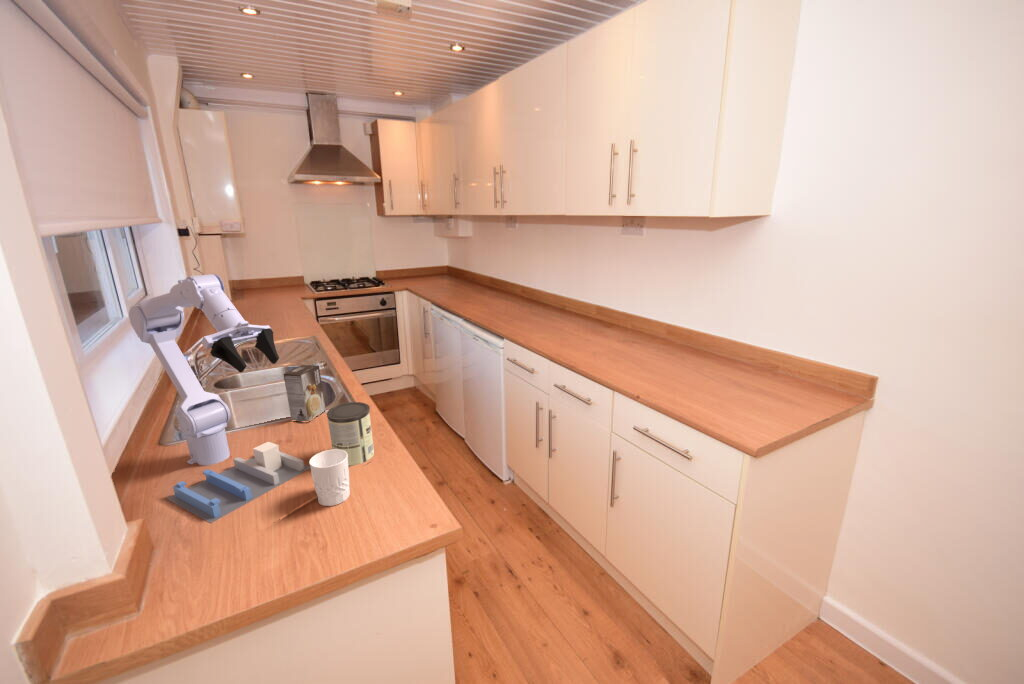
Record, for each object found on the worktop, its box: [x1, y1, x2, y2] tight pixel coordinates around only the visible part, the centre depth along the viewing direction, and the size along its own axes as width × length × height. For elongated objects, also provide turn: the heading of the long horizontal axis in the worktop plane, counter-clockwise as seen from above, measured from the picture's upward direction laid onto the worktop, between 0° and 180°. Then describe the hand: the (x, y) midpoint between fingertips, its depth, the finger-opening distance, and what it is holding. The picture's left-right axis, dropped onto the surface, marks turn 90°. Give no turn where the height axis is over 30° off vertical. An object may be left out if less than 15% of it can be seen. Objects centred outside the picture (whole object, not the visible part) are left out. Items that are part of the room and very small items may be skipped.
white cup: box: [308, 449, 351, 507], centre depth 99 cm, size 8×8×10 cm
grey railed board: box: [166, 450, 311, 524], centre depth 105 cm, size 18×24×4 cm
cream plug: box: [252, 441, 282, 471], centre depth 110 cm, size 4×4×6 cm
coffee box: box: [283, 364, 327, 421], centre depth 141 cm, size 9×6×16 cm
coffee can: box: [326, 401, 375, 467], centre depth 115 cm, size 10×10×14 cm
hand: (260, 365), depth 96 cm, fingers open, 7 cm apart
